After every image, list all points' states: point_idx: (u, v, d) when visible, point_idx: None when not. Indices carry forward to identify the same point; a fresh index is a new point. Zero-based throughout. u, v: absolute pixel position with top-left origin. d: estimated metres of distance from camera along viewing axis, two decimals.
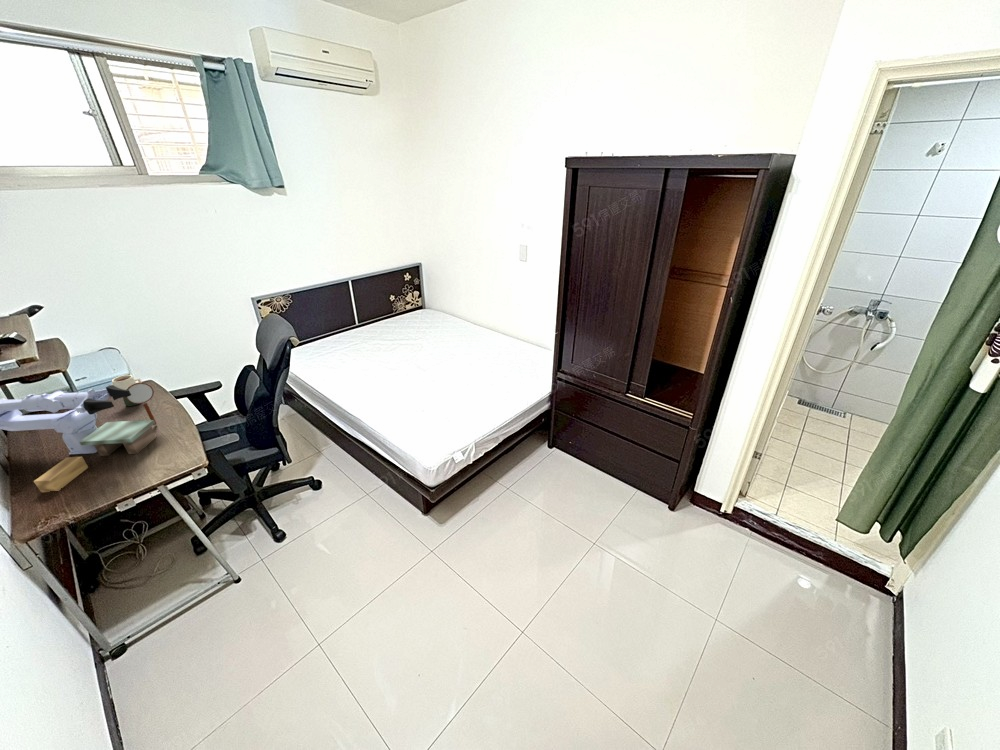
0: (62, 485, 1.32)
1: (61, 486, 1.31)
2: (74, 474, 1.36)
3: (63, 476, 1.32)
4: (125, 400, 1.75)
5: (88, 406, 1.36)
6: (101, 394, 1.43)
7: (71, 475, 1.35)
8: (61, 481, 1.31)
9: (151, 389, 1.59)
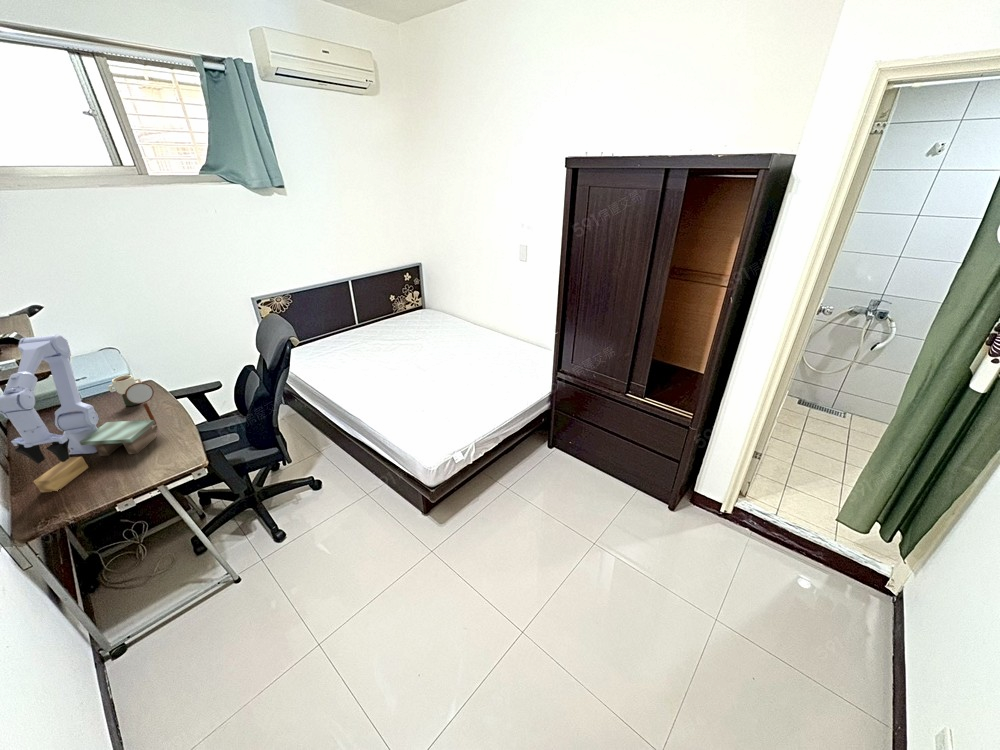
0: (62, 485, 1.32)
1: (61, 486, 1.31)
2: (74, 474, 1.36)
3: (63, 476, 1.32)
4: (125, 400, 1.75)
5: None
6: None
7: (71, 475, 1.35)
8: (61, 481, 1.31)
9: (151, 389, 1.59)
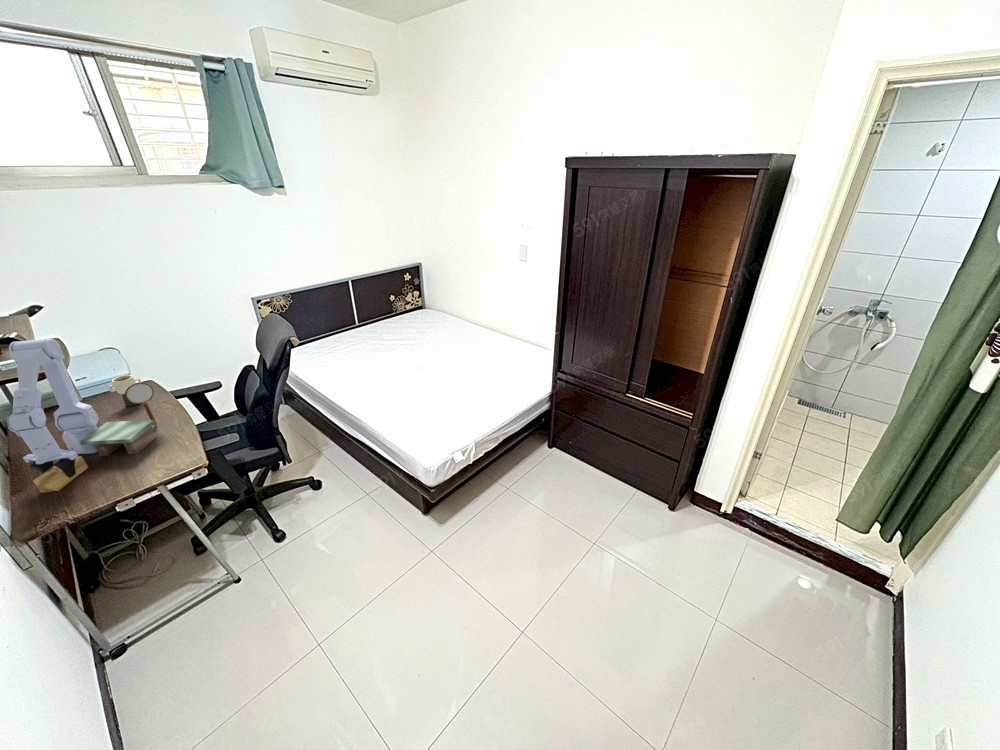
0: (61, 485, 1.31)
1: (60, 486, 1.31)
2: None
3: (63, 476, 1.32)
4: (125, 400, 1.75)
5: None
6: None
7: None
8: (61, 480, 1.31)
9: (151, 389, 1.59)
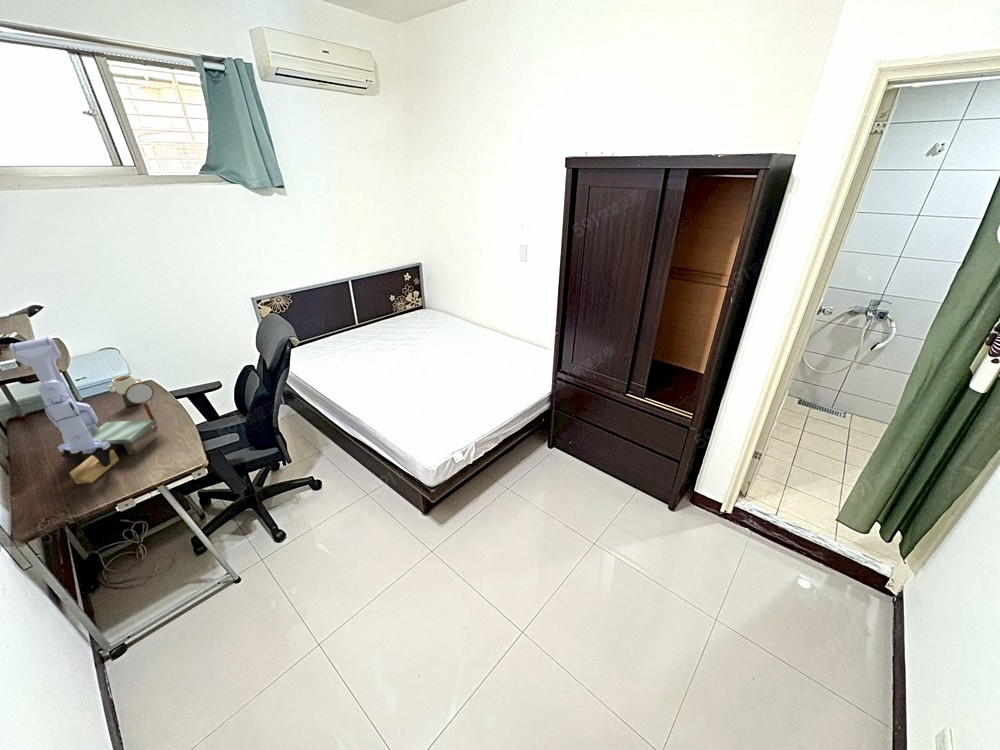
0: (96, 477, 1.35)
1: (95, 477, 1.35)
2: None
3: (97, 468, 1.36)
4: (125, 400, 1.75)
5: None
6: None
7: (104, 467, 1.38)
8: (95, 472, 1.35)
9: (151, 389, 1.59)
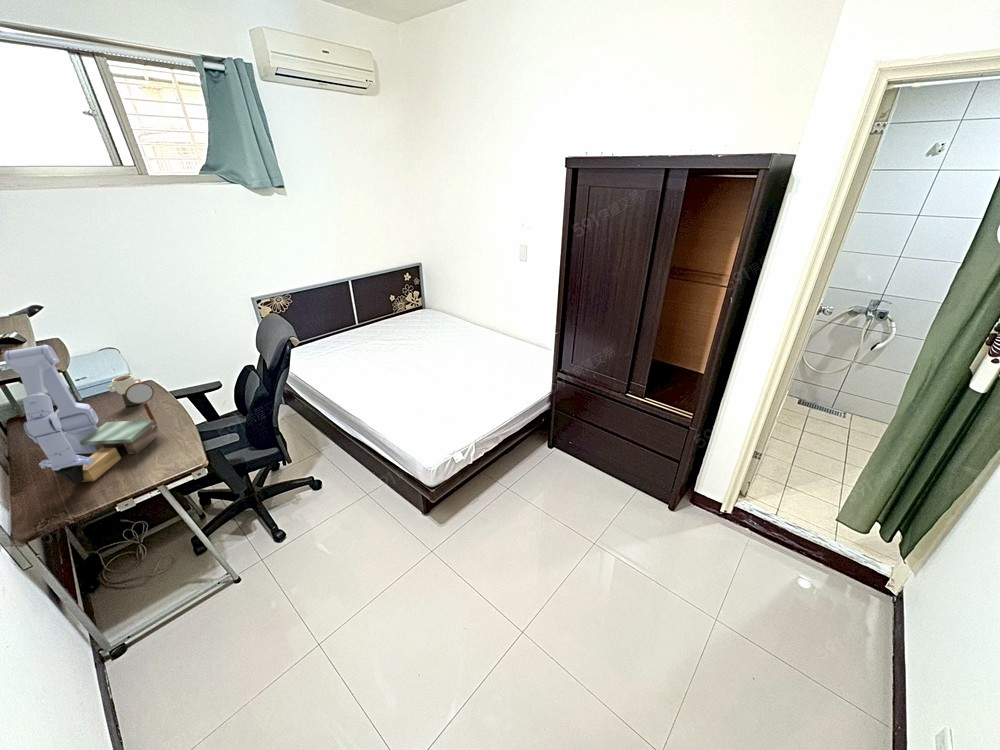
0: (98, 475, 1.36)
1: (97, 476, 1.36)
2: (108, 464, 1.40)
3: (99, 466, 1.36)
4: (125, 400, 1.75)
5: None
6: None
7: (106, 465, 1.39)
8: (97, 470, 1.36)
9: (151, 389, 1.59)
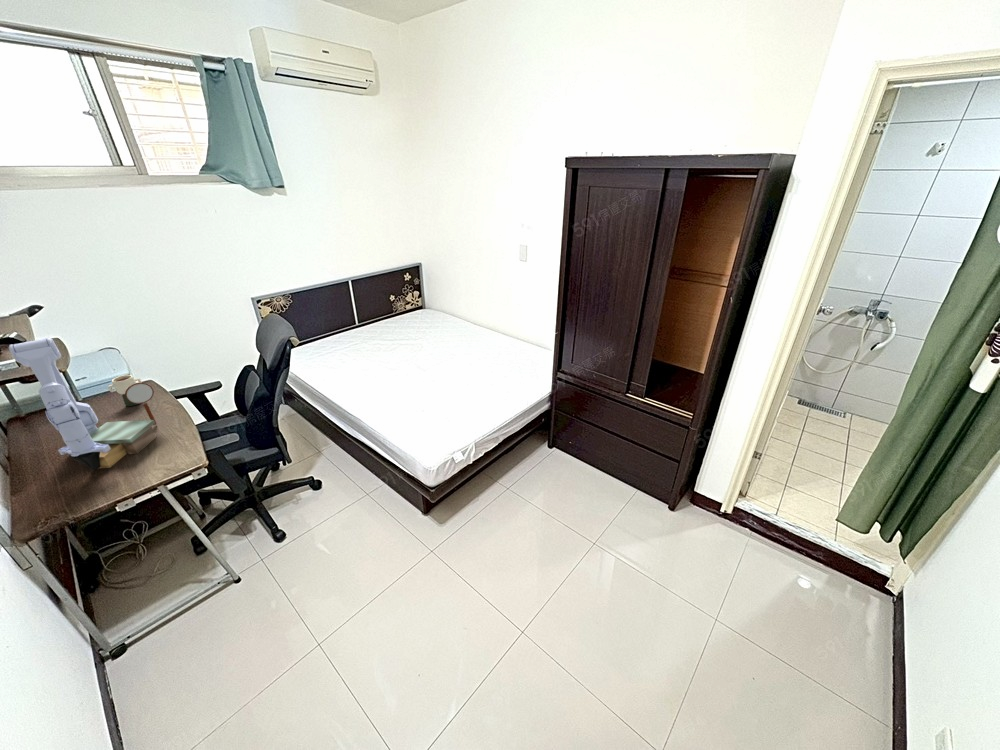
0: (113, 462, 1.42)
1: (112, 463, 1.42)
2: (123, 452, 1.46)
3: (114, 454, 1.42)
4: (125, 400, 1.75)
5: None
6: None
7: (121, 453, 1.45)
8: (113, 458, 1.42)
9: (151, 389, 1.59)
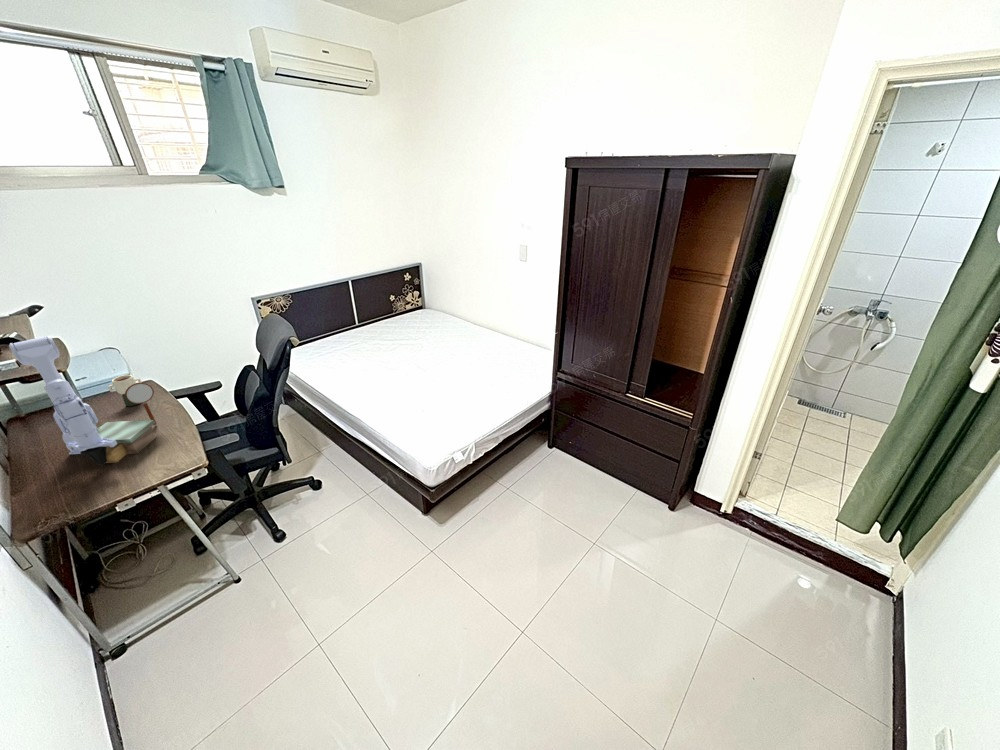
0: (120, 457, 1.45)
1: (120, 458, 1.44)
2: None
3: (121, 449, 1.45)
4: (125, 400, 1.75)
5: None
6: None
7: None
8: (120, 453, 1.44)
9: (151, 389, 1.59)
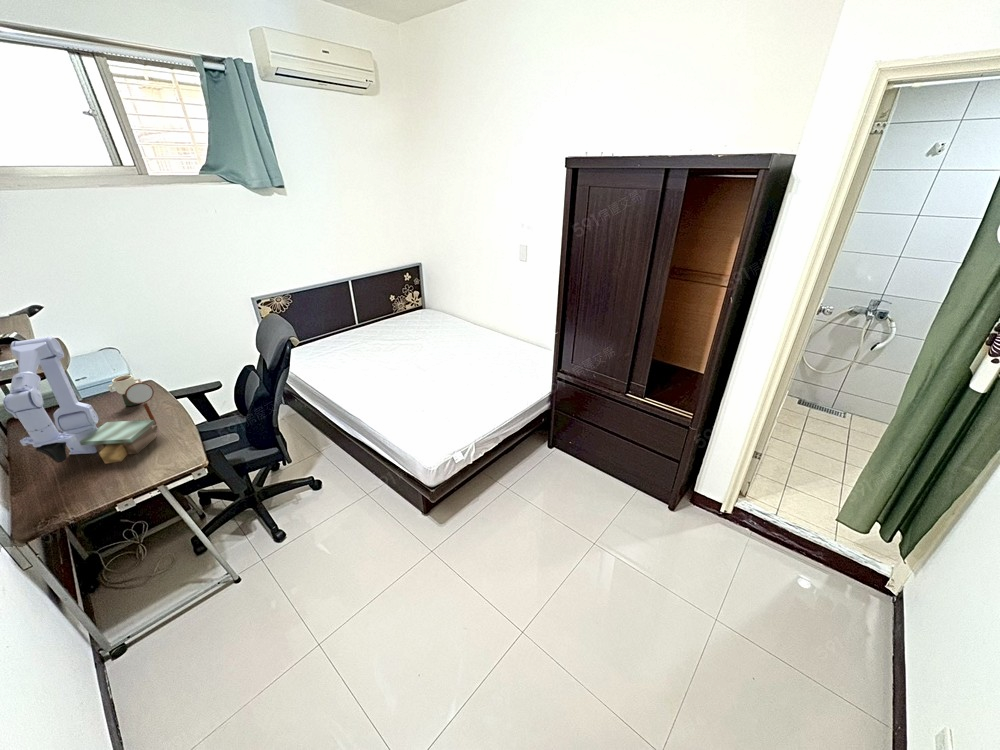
0: (124, 456, 1.45)
1: (123, 456, 1.45)
2: None
3: (123, 448, 1.46)
4: (125, 400, 1.75)
5: None
6: None
7: None
8: (123, 452, 1.45)
9: (151, 389, 1.59)
